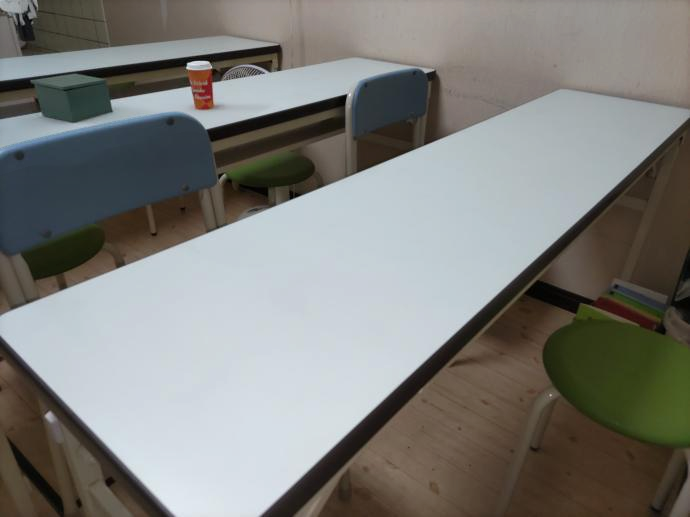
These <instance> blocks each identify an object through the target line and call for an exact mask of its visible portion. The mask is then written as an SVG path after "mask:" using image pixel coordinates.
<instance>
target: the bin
mask: <svg viewBox="0 0 690 517" xmlns="http://www.w3.org/2000/svg"><path fill="white" fill-rule="evenodd" d="M33 86H34V89H35V92H36V97H37V100H38V104H39V108H40V112H41V115H42V116H44V117H48V118H53V119H56V120H60V121H64V122H68V123H73V124H75V123H78V122H82V121H86V120H89V119H92V118H96V117H99V116H103V115H106V114H110V113H113V112H114V111H113V106H112V102H111V97H110V91H109V87H108V82H106V83H100V84H94V85H89V86H83V87H80V88H75V89H71V90H61V89H56V88H51V87H46V86H42V85H37V84H33Z"/></svg>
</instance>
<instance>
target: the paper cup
mask: <svg viewBox="0 0 690 517" xmlns="http://www.w3.org/2000/svg"><path fill="white" fill-rule="evenodd" d="M185 69H186V70H187V74H188V79H189V84H190V88H191V94H192V99H193V104H194V109H196V110H200V111H201V110H202V111H206V110H211V109H214V108H215V107H214V106H215V105H214V104H215V103H214V88H213V86H214V85H213V72H212V71H213V70H212V69H213V66H212V64H211V63H210V61H207V60H195V61H190V62H187V63H186V67H185Z"/></svg>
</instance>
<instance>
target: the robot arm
mask: <svg viewBox="0 0 690 517" xmlns="http://www.w3.org/2000/svg"><path fill="white" fill-rule="evenodd" d="M0 9H1V11H4V12H7V15H8V16H10V17H12V19H13V22H14V23H15V26H16V27H17V31H18V35H19V39H20V41H22V42H35V41H36V35H35V32H34V27H33V25H34V21H33V20H36V19H37V18H38V14H37V13H38V11H39V5H38V0H0Z"/></svg>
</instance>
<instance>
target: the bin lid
mask: <svg viewBox="0 0 690 517" xmlns="http://www.w3.org/2000/svg"><path fill="white" fill-rule="evenodd" d="M100 83H108V82H107V79H106V78H100V77H96V76H89V75H85V74H81V73H80V74H79V73H71V74H70V73H69V74H63V75H57V76H52V77H50V76H49V77H43V78H38V79H30V84H33V85H34V84H37V85H42V86H46V87H51V88H56V89H61V90H66V89H72V88H78V87H83V86H89V85H94V84H100Z"/></svg>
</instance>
